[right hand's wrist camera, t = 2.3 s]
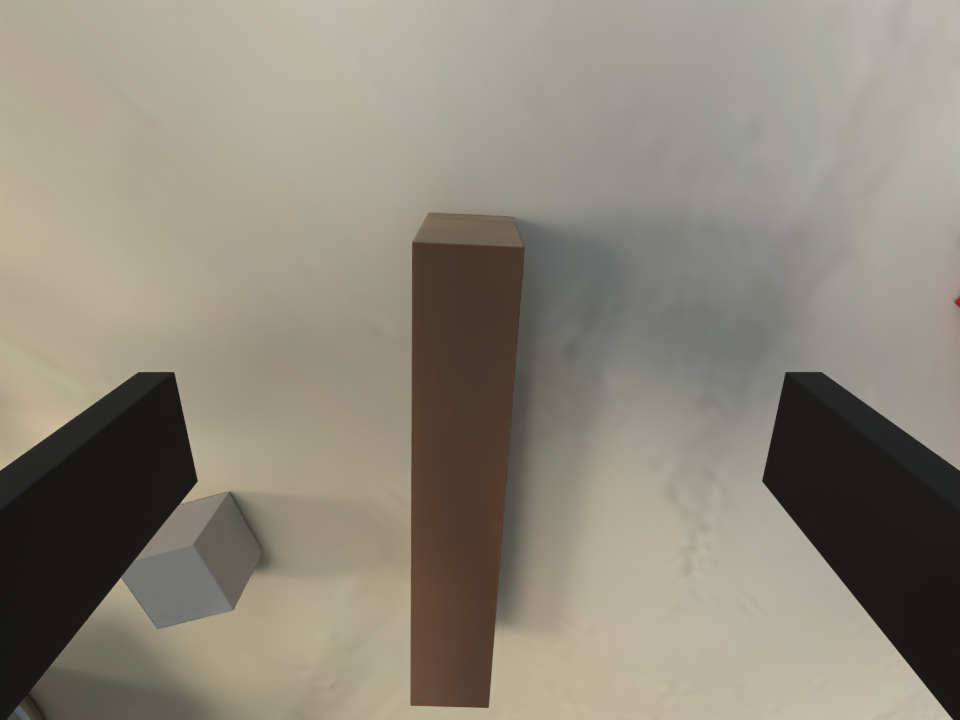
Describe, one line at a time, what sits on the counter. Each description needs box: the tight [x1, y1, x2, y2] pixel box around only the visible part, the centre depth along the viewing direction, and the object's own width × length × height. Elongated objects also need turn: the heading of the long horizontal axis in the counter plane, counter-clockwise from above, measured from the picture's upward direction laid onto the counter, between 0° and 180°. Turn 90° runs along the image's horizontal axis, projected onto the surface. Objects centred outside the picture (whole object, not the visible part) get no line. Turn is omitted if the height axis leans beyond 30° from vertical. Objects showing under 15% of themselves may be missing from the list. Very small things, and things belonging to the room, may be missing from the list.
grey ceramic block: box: [121, 492, 263, 629], centre depth 35 cm, size 5×5×5 cm
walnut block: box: [411, 213, 524, 708], centre depth 31 cm, size 4×26×8 cm, turn 177°
